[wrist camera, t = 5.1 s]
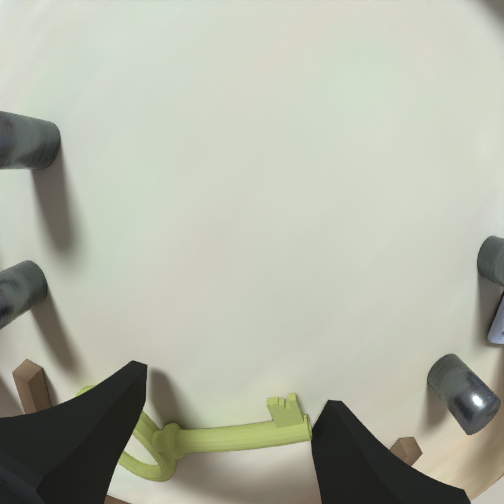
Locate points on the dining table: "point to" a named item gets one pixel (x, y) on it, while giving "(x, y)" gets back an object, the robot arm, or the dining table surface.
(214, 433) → the key
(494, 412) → the spacers
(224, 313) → the dining table surface
